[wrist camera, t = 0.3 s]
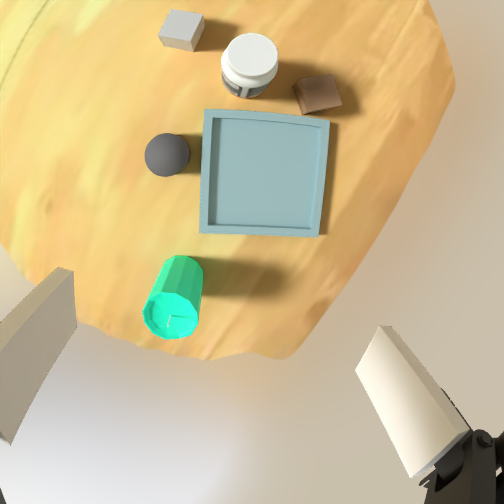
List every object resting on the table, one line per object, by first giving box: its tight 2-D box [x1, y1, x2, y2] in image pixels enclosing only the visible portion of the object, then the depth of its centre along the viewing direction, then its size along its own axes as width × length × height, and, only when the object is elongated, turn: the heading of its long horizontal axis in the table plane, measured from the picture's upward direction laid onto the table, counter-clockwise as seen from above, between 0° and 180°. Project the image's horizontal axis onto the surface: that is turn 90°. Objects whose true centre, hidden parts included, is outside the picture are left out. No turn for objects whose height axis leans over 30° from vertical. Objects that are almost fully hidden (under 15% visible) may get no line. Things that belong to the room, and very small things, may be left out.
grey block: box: [158, 9, 205, 52], centre depth 25 cm, size 4×4×4 cm
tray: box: [199, 109, 330, 237], centre depth 34 cm, size 15×15×2 cm
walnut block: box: [293, 74, 342, 115], centre depth 30 cm, size 4×4×4 cm
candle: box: [142, 256, 203, 339], centre depth 33 cm, size 6×6×12 cm
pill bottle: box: [221, 33, 278, 98], centre depth 25 cm, size 6×6×10 cm
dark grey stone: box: [145, 133, 190, 177], centre depth 31 cm, size 5×5×3 cm
